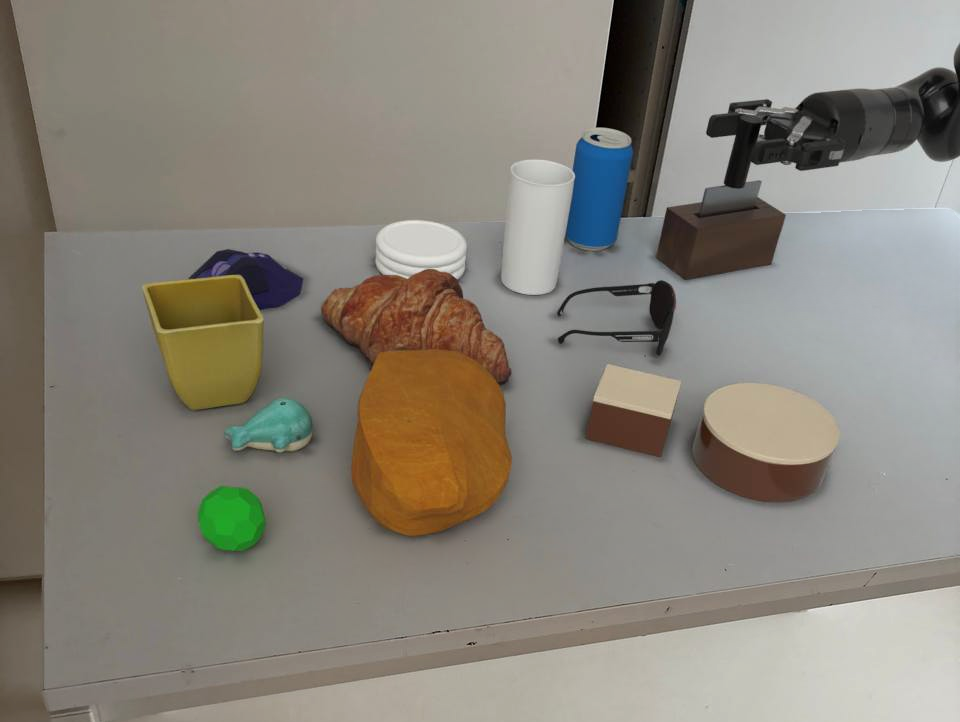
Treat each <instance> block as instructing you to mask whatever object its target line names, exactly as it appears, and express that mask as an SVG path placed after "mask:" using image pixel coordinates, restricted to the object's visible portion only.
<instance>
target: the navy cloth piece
mask: <svg viewBox="0 0 960 722" xmlns="http://www.w3.org/2000/svg"><path fill="white" fill-rule="evenodd" d="M227 275H241V276H242V277H243V278H244V280H245V282H246V285H247V287H248V289H249V291H250V293H251V296H252V298H253V300H254V302H255V303H256V305H257V307H258V309H259V310H266V309H273V308H279V307H280V308H281V307H282V306H284V305H285V304H287V303H288V302H290V301H291V300H293V299H294V298H296V297H298V296H299V295H300V294H301V291H302V286H303V283H304V278H303V277H302V276H300V275H298V274H296V273H295V272H293V271H291V270H289V269H288V268H286V266H283V265H282V264H281V263H279V262H278V261H277V260H276V259H274V258H273V257H272V256H270V254H267V253H262V252H257V251H256V252H244V251H240V250H234V249H231V248H226V249H221V250H217V251H216V252H214V254H213V255H211V257H209V258H208V259H207V260H206V261H205V262H204V263H203V264H201V266H200V267H199V268H197V269H196V270H195V271H194V272H193V273H192V274H191V275H190V276H189V277H188V279H198V278H208V277H217V276H227Z"/></svg>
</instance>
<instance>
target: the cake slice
mask: <svg viewBox="0 0 960 722" xmlns="http://www.w3.org/2000/svg"><path fill="white" fill-rule="evenodd" d="M681 385H682V380H678V379H674V378H670V377H665V376H661V375H657V374H652V373H648V372H645V371H640V370H636V369H631V368H628V367H627V368H626V367H623V366H617V365H614V364H609V363H607V364H606V366H605V368H604V371H603V373H602V375H601V378H600V380H599V383H598V386H597V388H596V390H595V394H594V395H593V399H592V404H591V409H590V414H589V418H588V419H589V420H588V423H587V430H586V433H585V434H586V435H585V440H589V441H592V442H596V443H601V444H605V445H609V446H613V447H618V448H622V449H626V450H629V451H633V452H638V453H642V454H646V455H651V456H655V457H659V458H661V457H662V453H663V451H664V448H665V445H666V440H667V437H668V433H669V430H670V426H671V423H672V420H673V416H674V413H675V408H676V404H677V401H678V397H679V394H680V390H681Z"/></svg>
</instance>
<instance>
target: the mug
mask: <svg viewBox="0 0 960 722" xmlns="http://www.w3.org/2000/svg"><path fill="white" fill-rule="evenodd" d="M509 169H510V170H509V179H508V189H507V201H506V212H505V225H504V236H503V247H502V257H501V258H502V260H501V272H500V273H501V274H500V280H501V283H502V284H503V285H504V287H506V288H507V289H508V290H510V291H512V292H515V293H519V294H522V295H528V296H540V295H541V296H542V295H545V294H548V293H551V292H553V291H554V290H555V289H556V287H557V284H558V278H559V272H560V267H561V261H562V256H563V249H564V245H565V239H566V237H565V233H566V228H567V222H568V216H569V211H570V205H571V199H572V193H573V186H574V179H575V174H574V172H573V171H572V170H573V169H572V168H570V167H568V166H567V165H564V164H562V163H559V162H557V161H552V160H547V159H538V158H537V159H536V158H534V159H533V158H532V159H531V158H530V159H524V160H523V159H522V160H519V161H516V162H514V163H513V164H512V165H511V166H510V168H509Z"/></svg>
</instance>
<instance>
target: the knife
mask: <svg viewBox="0 0 960 722" xmlns="http://www.w3.org/2000/svg"><path fill="white" fill-rule="evenodd" d="M761 124H762V119H760V118H759V117H756V116H752V115H743V116H741V117H740V120H739V124H738V128H737V132H736V135H734V141H733V144H732V148H731V152H730V156H729V160H728V164H727V167H726V170H725V174H724V179H723V185H718V186H717V185H716V186H710V187H709V186H708V187H705V188H704V192H703V196H702V199H701V202H702V203H701V207H700V211H699V216H698V218H704V217H710V216H716V215H723V214H729V213H735V212H742V211H748V210H754V207H755V204H756V200H757V197H759V193H760V190H761V186H762V182H763V181H762V180H760V179H759V180H752V181H747V179H748V175H749V173H750V168H751V164H752V162H751V156H752V153H753V149H754V146H755V144H756V143H757V139H758V135H759V134H760V131H761V128H762V126H761Z"/></svg>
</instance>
